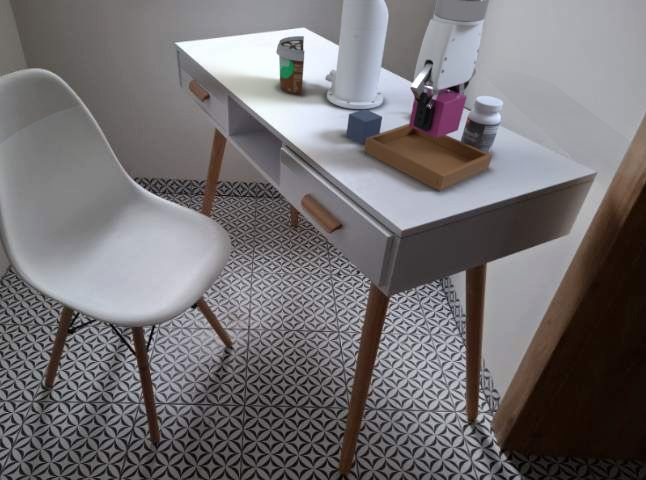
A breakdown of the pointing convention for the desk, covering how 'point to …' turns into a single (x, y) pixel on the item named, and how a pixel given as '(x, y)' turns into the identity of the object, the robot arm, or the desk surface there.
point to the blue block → (363, 125)
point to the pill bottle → (482, 123)
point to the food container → (291, 64)
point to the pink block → (443, 113)
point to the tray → (428, 156)
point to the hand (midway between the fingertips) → (434, 123)
